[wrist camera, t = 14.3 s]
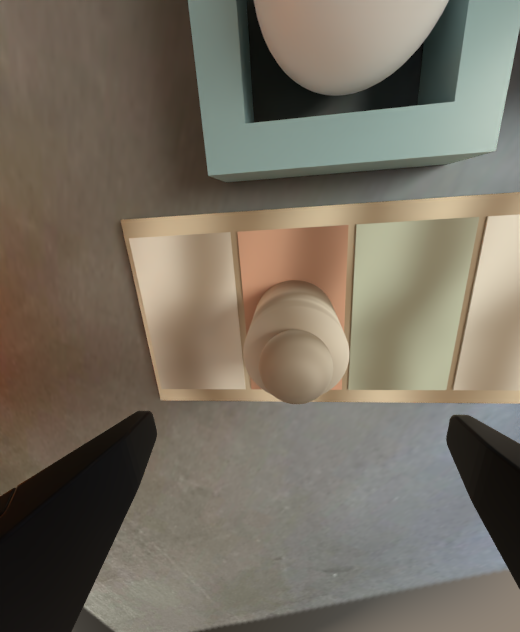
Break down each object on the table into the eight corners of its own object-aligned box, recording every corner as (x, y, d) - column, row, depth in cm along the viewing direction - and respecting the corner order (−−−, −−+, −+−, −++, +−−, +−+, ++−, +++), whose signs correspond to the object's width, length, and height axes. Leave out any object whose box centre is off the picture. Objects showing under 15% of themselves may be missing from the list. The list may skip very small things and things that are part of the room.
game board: (623, 184, 13) (640, 183, 13) (550, 397, 18) (560, 405, 17) (126, 219, 16) (119, 220, 16) (164, 394, 21) (160, 401, 20)
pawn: (335, 278, 16) (366, 327, 9) (333, 352, 17) (358, 438, 11) (252, 281, 16) (227, 330, 10) (257, 353, 18) (239, 436, 11)
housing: (499, -187, 10) (598, -376, 7) (447, 164, 14) (495, 151, 11) (196, -123, 11) (157, -256, 8) (225, 182, 15) (208, 175, 12)
